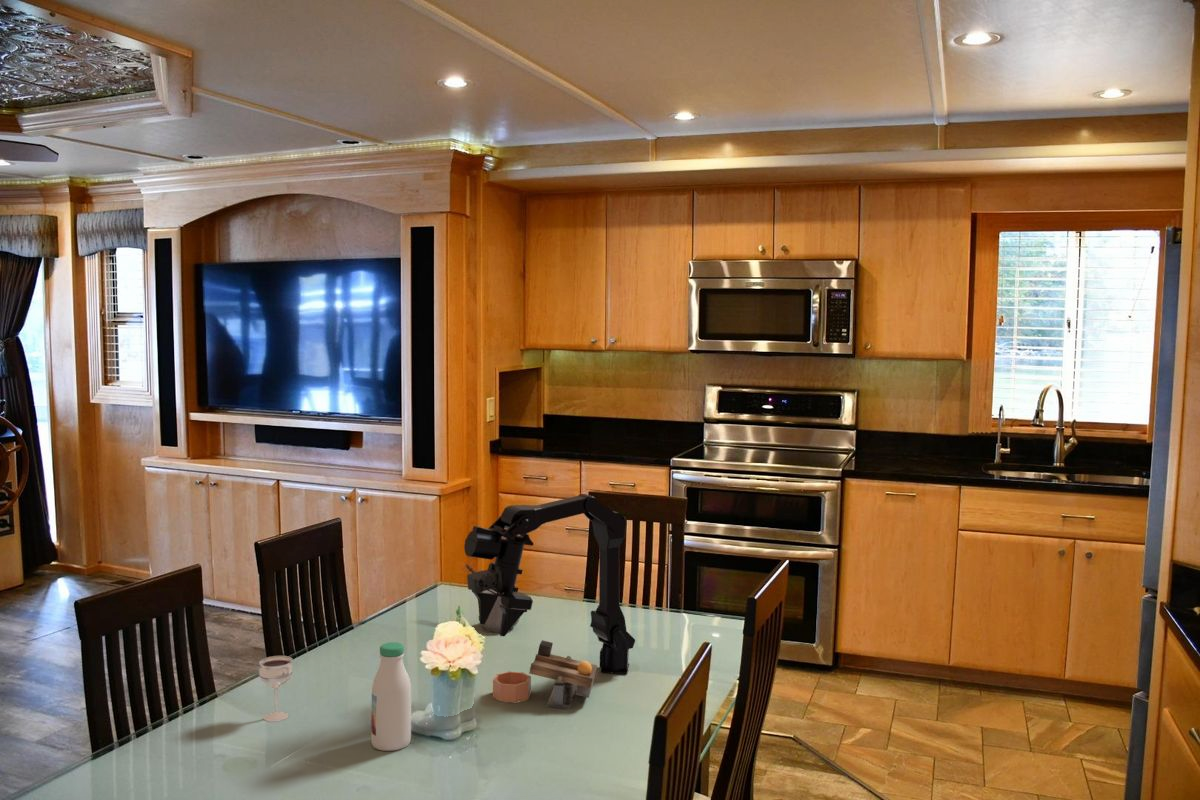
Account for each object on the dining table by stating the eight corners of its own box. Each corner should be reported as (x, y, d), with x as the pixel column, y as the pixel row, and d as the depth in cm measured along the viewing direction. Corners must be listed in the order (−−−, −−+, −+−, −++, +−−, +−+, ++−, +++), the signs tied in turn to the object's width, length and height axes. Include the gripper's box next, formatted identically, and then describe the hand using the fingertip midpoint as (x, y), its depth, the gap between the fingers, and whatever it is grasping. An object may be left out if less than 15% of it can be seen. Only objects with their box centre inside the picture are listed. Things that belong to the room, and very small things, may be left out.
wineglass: (261, 725, 189) (261, 669, 188) (256, 713, 195) (256, 658, 194) (295, 720, 192) (295, 664, 191) (290, 708, 198) (290, 653, 197)
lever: (595, 677, 215) (600, 650, 214) (587, 701, 201) (593, 672, 200) (537, 663, 216) (542, 636, 216) (525, 686, 202) (531, 658, 202)
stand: (578, 683, 216) (579, 662, 216) (569, 709, 201) (569, 686, 201) (558, 681, 217) (558, 660, 216) (547, 707, 202) (547, 684, 201)
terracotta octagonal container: (532, 689, 211) (533, 672, 211) (525, 703, 203) (526, 686, 203) (498, 687, 212) (498, 670, 212) (490, 701, 204) (490, 683, 204)
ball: (590, 674, 207) (594, 661, 207) (589, 679, 204) (592, 666, 204) (577, 670, 207) (580, 657, 207) (575, 676, 204) (578, 662, 204)
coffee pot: (528, 628, 255) (529, 575, 254) (496, 637, 247) (497, 582, 246) (480, 610, 270) (480, 560, 269) (448, 618, 262) (449, 567, 261)
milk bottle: (418, 738, 185) (419, 641, 183) (397, 754, 178) (398, 654, 176) (385, 732, 187) (385, 636, 186) (363, 748, 180) (363, 648, 179)
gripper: (457, 548, 210) (441, 616, 209) (498, 568, 195) (481, 640, 194) (498, 554, 216) (483, 619, 215) (540, 573, 201) (524, 643, 200)
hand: (491, 630), depth 206 cm, fingers open, 9 cm apart
